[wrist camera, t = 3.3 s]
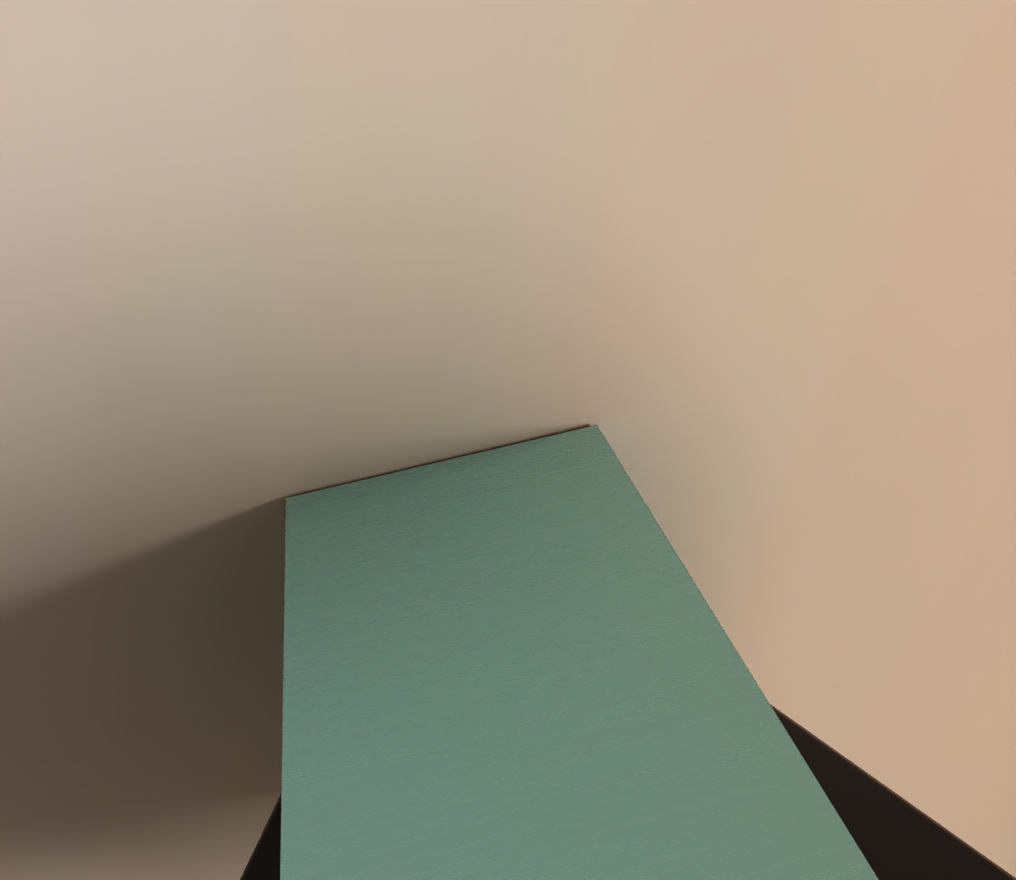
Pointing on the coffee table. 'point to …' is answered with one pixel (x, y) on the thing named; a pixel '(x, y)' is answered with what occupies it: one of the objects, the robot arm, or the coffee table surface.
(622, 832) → the teal block
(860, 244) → the coffee table surface
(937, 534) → the coffee table surface
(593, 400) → the coffee table surface
